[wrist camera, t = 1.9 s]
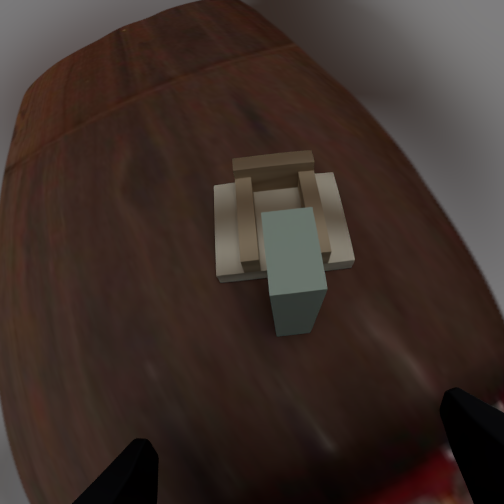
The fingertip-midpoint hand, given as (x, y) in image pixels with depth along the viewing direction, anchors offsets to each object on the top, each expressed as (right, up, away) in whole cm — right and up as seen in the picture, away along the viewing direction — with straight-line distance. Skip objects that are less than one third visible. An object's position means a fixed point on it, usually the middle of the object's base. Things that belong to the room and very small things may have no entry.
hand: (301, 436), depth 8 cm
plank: (+1, +1, +15) cm, 15 cm away
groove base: (+1, +7, +18) cm, 19 cm away
